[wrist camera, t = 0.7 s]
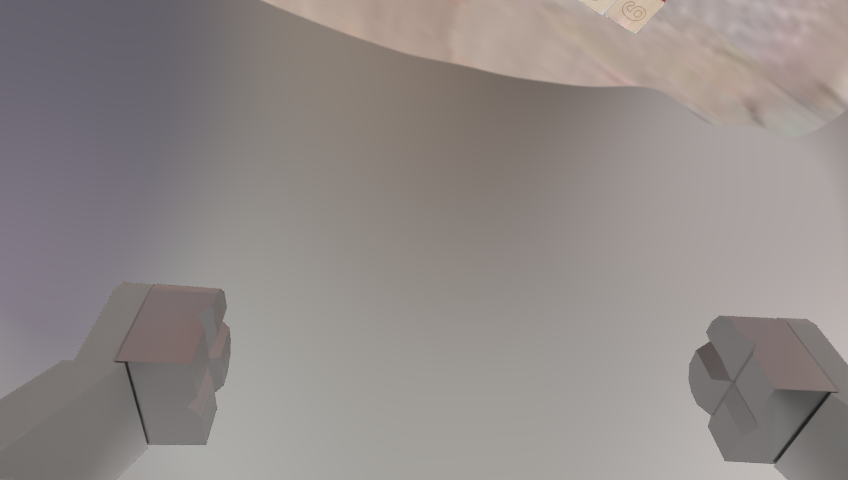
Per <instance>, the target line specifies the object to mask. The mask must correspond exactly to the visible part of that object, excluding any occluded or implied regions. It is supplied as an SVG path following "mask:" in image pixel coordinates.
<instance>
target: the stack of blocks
mask: <svg viewBox="0 0 848 480" xmlns="http://www.w3.org/2000/svg"><path fill="white" fill-rule="evenodd" d="M578 1H580V2H581V3H583V4H584V5H586V6H588V7H589V8H591V9H592V10H594V11H596V12H597V13H599V14H600V15H605V16H607V17H608V18H609V19H611V20H612V21H614V22H616V23H617V24H619V25H620V26H622V27H623V28H625V29H627V30H628V31H630V32H631V33H633V34H636V33H637V32H638V31H639V30H640V29H641V28H642V27H643V25H644V24H645V23H646V22H647V21H648V20H649V19H650V18H651V17H652V16H653V15H654V14H655V13H656V12H657V11H658V10H659V9H660V8H661V7H662V6H663V5H664V4H665V1H666V0H578Z"/></svg>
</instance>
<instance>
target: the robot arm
mask: <svg viewBox="0 0 848 480" xmlns="http://www.w3.org/2000/svg"><path fill="white" fill-rule="evenodd" d="M226 308H227V305H226V299H225V293H224V291H223V290H222V289H217V288H204V287H190V286H178V285H165V284H156V285H154V284H143V283H131V282H122V283H121V284H120V285H118V286H117V287H116V288H115V289H114V290H113V292H112V294H111V296H110V297H109V299H108V301H107V303H106V304H105V306H104V308H103V310H102V312H101V313H100V315H99V317H98V318H97V320H96V322H95V324H94V325H93V327H92V329H91V331H90V332H89V334H88V336H87V337H86V339H85V341H84V343H83V344H82V346H81V348H80V350H79V351H78V353H77V355H76V357H75V358H74V360H73V361H72V360H71V361H70V360H62V361H61V362H59V363H58V364H56V365H54V366H53V367H51V368H49V369H48V370H46V371H45V372H43V373H41V374H40V375H38V376H37V377H35V378H34V379H32V380H30V381H29V382H27V383H26V384H24V385H22V386H21V387H19V388H18V389H16V390H15V391H13V392H11V393H10V394H8V395H7V396H5V397H3V398H2V399H0V480H116V479H117V478H118V477H119V476H120V475H121V474H122V473H123V472H124V471H125V470H126V469H127V468H128V467H129V466H130V465H131V464H132V463H133V462H134V461H135V460H136V459H137V458H138V457H140V456H141V454H142V453H144V452H145V451H146V450H147V449H148V445H206V443H207V440H208V437H209V434H210V430H211V426H212V423H213V420H214V417H215V413H216V410H217V405H216V398H215V392H216V391H217V390H218V389H220V388H221V387H222V386H223V385H224V383H225V379H226V375H227V372H228V366H229V358H230V344H231V343H230V342H231V339H230V330H229V327H228V326H227V325H226V324H225V323H224V322H223V318H224V315H225V311H226ZM706 333H707V335H708V338H709V341H710V342H708V343H707V344H705V345H704V346H702V347H701V348H699V349H697V350H696V352H695V354H694V356H693V358H692V360H691V362H690V367H689V384H690V388H691V392H692V394H693V396H694V398H695V401H696V403H697V404H698V405H699V406H700V407H701V408H703V409H704V410H705V411H706V412H707V413H709V414H710V415H711V418H710V422H709V425H708V428H709V430H710V432H711V433H712V436H713V438H714V440H715V441H716V444H717V446H718V448H719V450H720V452H721V454H722V456H723V458H724V460H725V461H734V462H751V463H767V464H775V465H774V467H775V468H776V469H777V470H778V471H779V472H780V473H781V474H782V475H783V476H784V477H785V478H787V480H848V365H847V364H846V362H845V361H844V360H843V358H842V357H841V356H840V355H839V354H838V352H837V351H836V350H835V349H834V347H833V346H832V345H831V343H830V342H829V341H828V339H827V338H826V337H825V336H824V335H823V333H822V332H821V331H820V329H819V328H818V327H817V325H815V324H814V323H812V322H810V321H809V320H807V319H790V318H777V319H774V318H759V317H736V316H719V317H717V318H716V319H715V320H713V321H712V323H711V324H710V326H709V328H708V330H707V332H706Z"/></svg>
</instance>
